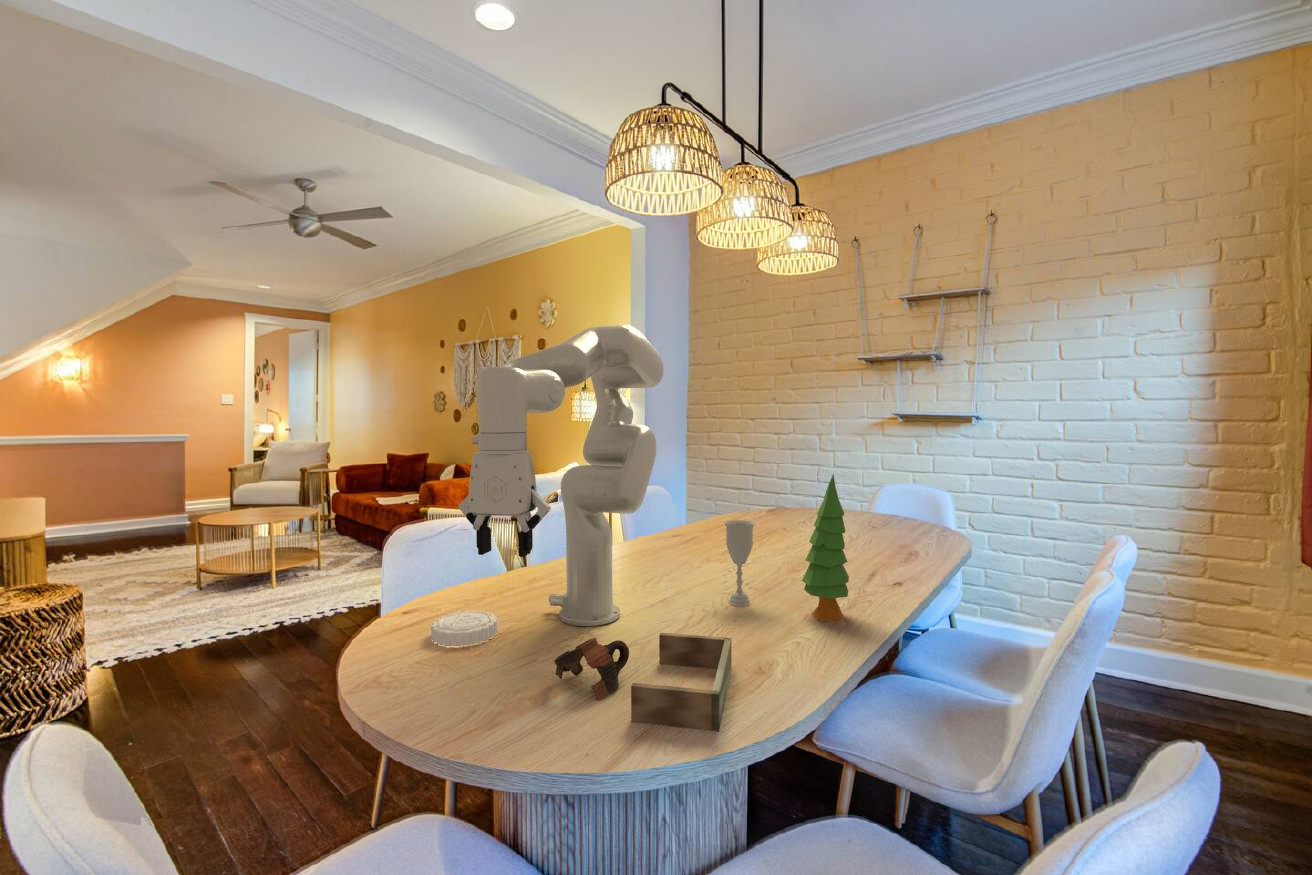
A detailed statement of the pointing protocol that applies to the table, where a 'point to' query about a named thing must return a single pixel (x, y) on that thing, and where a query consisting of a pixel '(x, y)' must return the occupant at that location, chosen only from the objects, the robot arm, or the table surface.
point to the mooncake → (464, 628)
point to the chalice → (739, 554)
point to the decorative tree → (827, 558)
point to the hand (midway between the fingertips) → (504, 553)
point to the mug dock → (681, 702)
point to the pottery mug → (596, 663)
